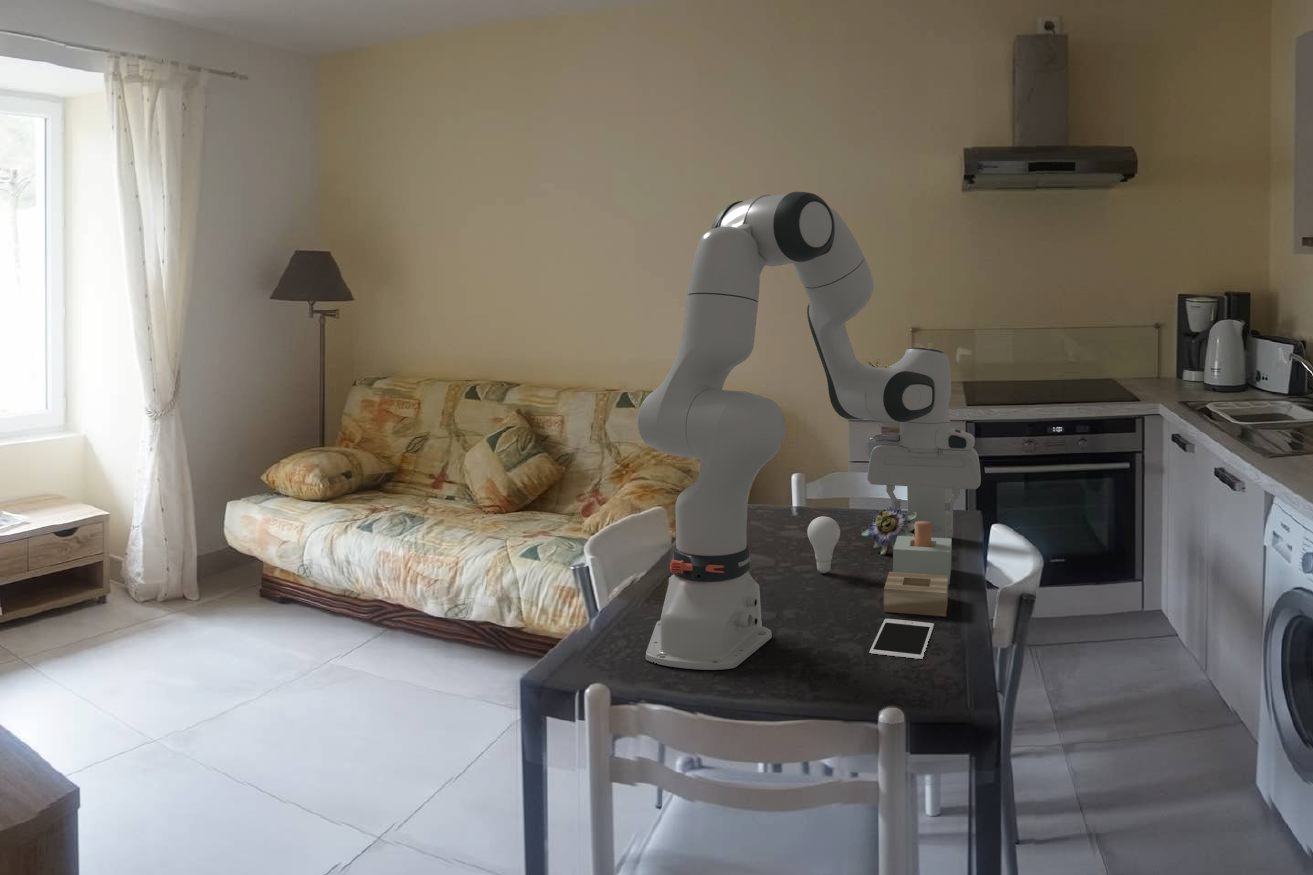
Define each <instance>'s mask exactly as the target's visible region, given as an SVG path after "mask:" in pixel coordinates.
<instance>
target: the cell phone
mask: <svg viewBox="0 0 1313 875" xmlns="http://www.w3.org/2000/svg"><path fill="white" fill-rule="evenodd" d="M882 622H883V623H882V624H881V626H880V628H879V630H878V633H877V634H876V637H875V638H874V641H873V643H872V646H871V648H870V650H869V653H871V654H870V655H872V654H878V655H877V656H880V655H887V656H886V657H889V656H895V657H894V658H898V657H906V658H905V659H907V658H914V659H913V660H917V659H922V660H924V658H925V655H924V652H925V651H927V649H928V646H929V643H928V641H929V642H930V640H929V639H931V636H932V633H933V630H934V627H935V623H932V622H924V621H915V620H907V619H906V620H905V619H904V620H903V619H893V618H885V619H884V620H883V621H882ZM927 645H928V646H927ZM926 648H927V649H926ZM925 653H926V652H925ZM923 657H924V658H923Z"/></svg>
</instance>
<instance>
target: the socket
mask: <svg viewBox="0 0 1313 875" xmlns="http://www.w3.org/2000/svg"><path fill="white" fill-rule="evenodd" d="M892 572H899V573H915V574H931V575H947V576H948V585H950V582H951V572H952V538H932V537H931V547H915V537H912V536H897V539H896V542H895V545H894V548H892Z"/></svg>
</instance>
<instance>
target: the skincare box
mask: <svg viewBox="0 0 1313 875" xmlns="http://www.w3.org/2000/svg"><path fill="white" fill-rule="evenodd" d="M906 487H907V488H906V489H907V490H906V491H907V492H906V493H907V494H906V496H907V497H906V498H907V500H906V501H907V514H908V513H914V512H916V513H917V517H916V518H914V519H913V520H912V521H910V522H911V523H914V524H915V522H917V521H928V522H931V523H932V525H931V537H932V538H951V539H952V538H953V537H954V512H953V513H952V512H945V501H950V500H951V499H952V497H953V496H954V494H952V488H934V487H913V486H906Z"/></svg>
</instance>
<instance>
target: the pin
mask: <svg viewBox="0 0 1313 875" xmlns="http://www.w3.org/2000/svg"><path fill="white" fill-rule="evenodd" d="M931 525H932V523H931V522H928V521H917V522H915V547H931Z"/></svg>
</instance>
